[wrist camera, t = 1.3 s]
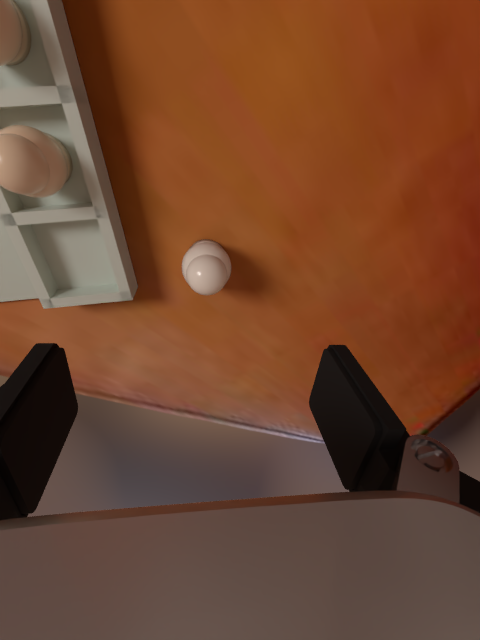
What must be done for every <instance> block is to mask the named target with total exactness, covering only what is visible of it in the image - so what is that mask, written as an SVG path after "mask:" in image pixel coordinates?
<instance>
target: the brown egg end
mask: <svg viewBox="0 0 480 640" xmlns="http://www.w3.org/2000/svg"><path fill="white" fill-rule="evenodd" d="M30 49H31V32H30V28H29V24H28V22H27V19H26V17H25V15H24V13H23V11H22V10H21V8H20V7H19V5H18V4H17V3H16V2H15V1H14V0H0V66H3V65H17V64H19V63H21V62H23V61H24V60H25V59H26V58H27V56H28V54H29V52H30Z"/></svg>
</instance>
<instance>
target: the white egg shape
mask: <svg viewBox="0 0 480 640" xmlns="http://www.w3.org/2000/svg"><path fill="white" fill-rule="evenodd" d="M182 273H183V276H184V278H185V280H186V282H187V283H188V284H189V286H190V287H191V288H192V289H193V290H194V291H195V292H197V293H199V294H201V295H213V294H215V293H217V292H219V291H220V290H221V289H222V288H223V287H224V285H225V284H226V283H227V281H228V280H229V277H230V274H231V261H230V258H229V256H228V254H227V253H226V252H225V250H224V249H223V248H222V246H221V245H220V244H218V243H217V242H215V241H213V240H209V239H203V240H199V241H197V242H195V243H194V244H193V245H192V246H191V247H190V249H189V250H188V251H187V252H186V254H185V256H184V258H183V261H182Z"/></svg>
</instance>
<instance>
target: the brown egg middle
mask: <svg viewBox="0 0 480 640" xmlns="http://www.w3.org/2000/svg"><path fill="white" fill-rule="evenodd" d="M72 170H73V165H72V159H71V156H70V154H69V152H68V150H67V149H66V147H65V146H64V145H63V144H62V143H61V142H60V141H59V140H58V139H57V138H56V137H54V136H52V135H50V134H48V133H45V132H42V131H40V130H38V129H35V128H33V127H30V126H25V125H12V126H8V127H5V128H3V129H1V130H0V186H2V187H3V188H5V189H7V190H9V191H11V192H14V193H17V194H23V195H25V196H29V197H35V198H43V197H48V196H51V195H53V194H55V193H57V192H58V191H60V189H61V188H62V187H63V186H64V184H65V183H66V182H67V181H68V180H69V179H70V177H71V174H72Z"/></svg>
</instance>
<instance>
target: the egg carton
mask: <svg viewBox="0 0 480 640" xmlns="http://www.w3.org/2000/svg"><path fill="white" fill-rule="evenodd" d="M14 1H15V2H16V3H17V4H18V5H19V7H20V8H21V10H22V11H23V13H24V15H25V17H26V19H27V22H28V24H29V28H30V32H31V49H30V52H29V54H28V56H27V58H26V59H25V60H24V61H23V62H21V63H19V64H17V65H3V66H0V130H1V129H3V128H5V127H8V126H12V125H25V126H30V127H33V128H35V129H38V130H40V131H42V132H45V133H48V134H50V135H52V136H54V137H56V138H57V139H58V140H59V141H60V142H61V143H62V144H63V145H64V146H65V147H66V149H67V150H68V152H69V154H70V156H71V159H72V165H73V170H72V174H71V177H70V179H69V180H68V181H67V182H66V183H65V184H64V186H63V187H62V188H61V189H60V191H58V192H57V193H55V194H53V195H51V196H48V197H43V198H35V197H29V196H25V195H23V194H17V193H14V192H11V191H9V190H7V189H5V188H3V187H2V186H0V302H4V301H14V300H25V299H35V298H39V300H40V302H41V304H42V306H43V308H44V309H45V308H55V307H66V306H76V305H86V304H97V303H107V302H118V301H128V300H133V298H134V295H135V293H136V291H137V288H138V285H137V281H136V277H135V273H134V270H133V266H132V262H131V258H130V255H129V251H128V247H127V243H126V240H125V236H124V232H123V228H122V225H121V221H120V217H119V213H118V210H117V206H116V202H115V198H114V195H113V191H112V187H111V183H110V180H109V176H108V172H107V168H106V165H105V161H104V157H103V153H102V150H101V146H100V142H99V138H98V135H97V131H96V127H95V123H94V120H93V116H92V112H91V108H90V105H89V101H88V97H87V93H86V90H85V86H84V82H83V78H82V74H81V71H80V67H79V63H78V59H77V56H76V52H75V48H74V44H73V41H72V37H71V33H70V29H69V26H68V22H67V18H66V14H65V11H64V7H63V3H62V0H14Z"/></svg>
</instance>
